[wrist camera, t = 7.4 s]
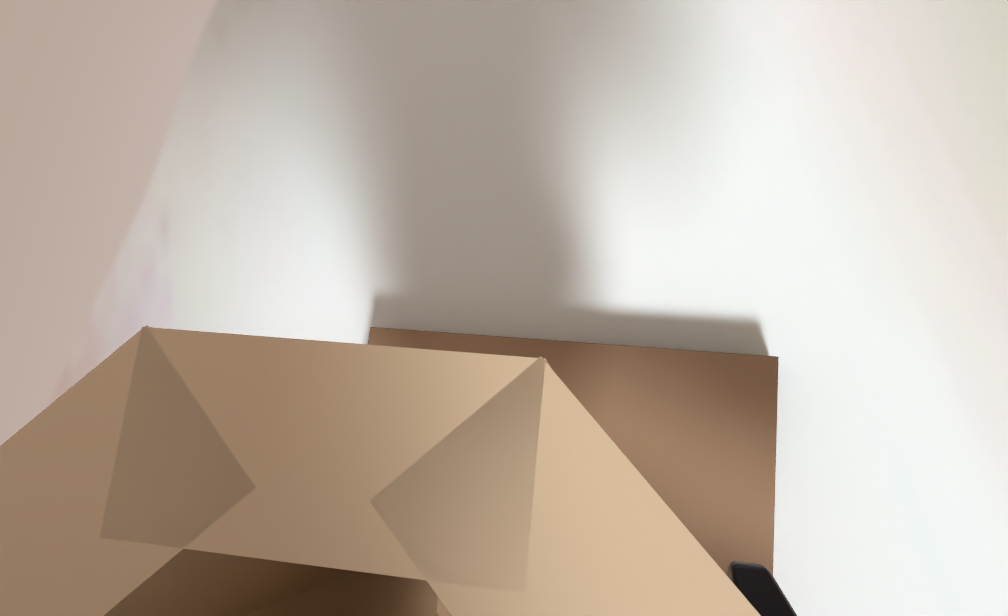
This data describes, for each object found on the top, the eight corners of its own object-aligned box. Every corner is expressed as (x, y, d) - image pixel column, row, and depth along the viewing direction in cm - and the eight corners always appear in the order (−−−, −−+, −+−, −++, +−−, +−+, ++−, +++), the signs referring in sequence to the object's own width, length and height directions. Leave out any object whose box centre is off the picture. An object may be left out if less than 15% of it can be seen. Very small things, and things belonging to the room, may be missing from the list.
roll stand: (758, 814, 20) (811, 944, 14) (326, 740, 21) (230, 830, 16) (771, 361, 22) (820, 327, 17) (380, 332, 24) (312, 293, 19)
